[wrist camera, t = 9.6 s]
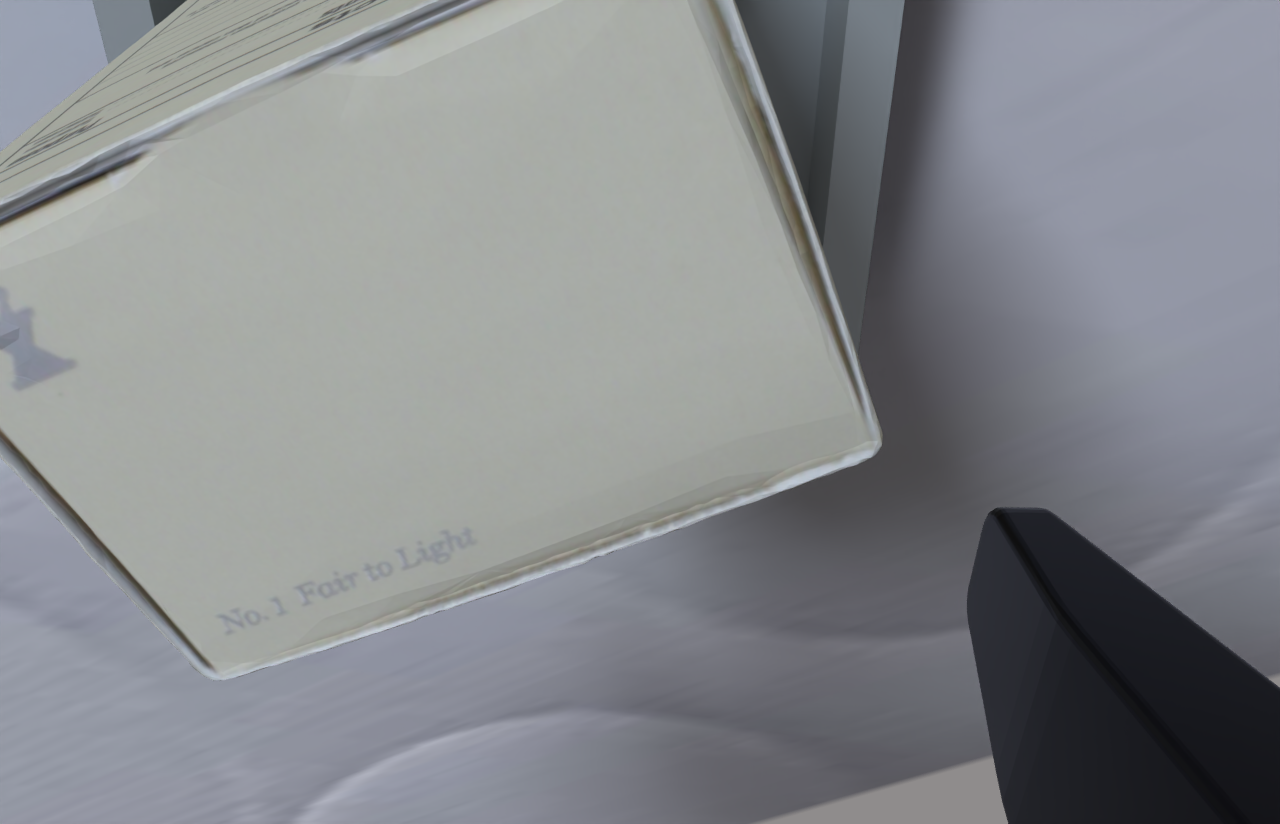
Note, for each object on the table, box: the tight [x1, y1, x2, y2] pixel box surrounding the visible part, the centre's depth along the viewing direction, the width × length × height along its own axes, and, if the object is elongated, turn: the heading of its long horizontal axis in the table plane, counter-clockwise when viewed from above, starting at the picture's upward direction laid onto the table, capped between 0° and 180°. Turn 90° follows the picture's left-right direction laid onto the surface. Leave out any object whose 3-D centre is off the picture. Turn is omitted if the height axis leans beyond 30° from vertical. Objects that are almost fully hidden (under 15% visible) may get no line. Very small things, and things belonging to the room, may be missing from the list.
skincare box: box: [0, 0, 883, 681], centre depth 13 cm, size 6×4×12 cm
